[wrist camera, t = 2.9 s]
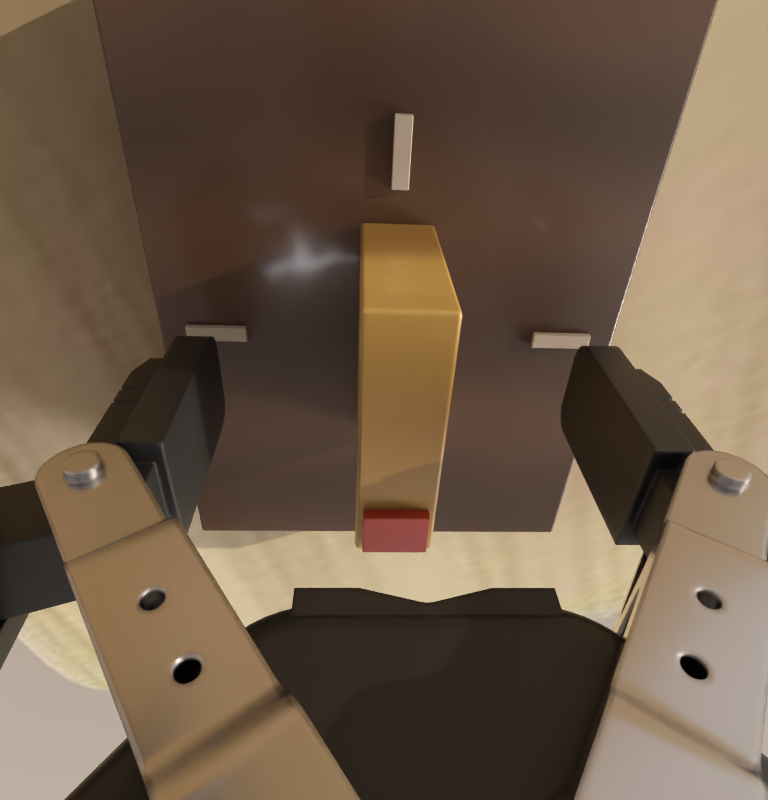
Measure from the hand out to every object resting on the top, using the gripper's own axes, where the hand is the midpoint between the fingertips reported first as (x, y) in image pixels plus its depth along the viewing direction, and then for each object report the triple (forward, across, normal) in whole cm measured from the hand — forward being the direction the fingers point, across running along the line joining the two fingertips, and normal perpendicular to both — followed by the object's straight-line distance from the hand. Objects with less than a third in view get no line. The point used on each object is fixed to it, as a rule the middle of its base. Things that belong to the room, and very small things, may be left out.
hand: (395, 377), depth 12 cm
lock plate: (+5, 0, 0) cm, 5 cm away
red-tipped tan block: (+2, 0, 0) cm, 2 cm away
